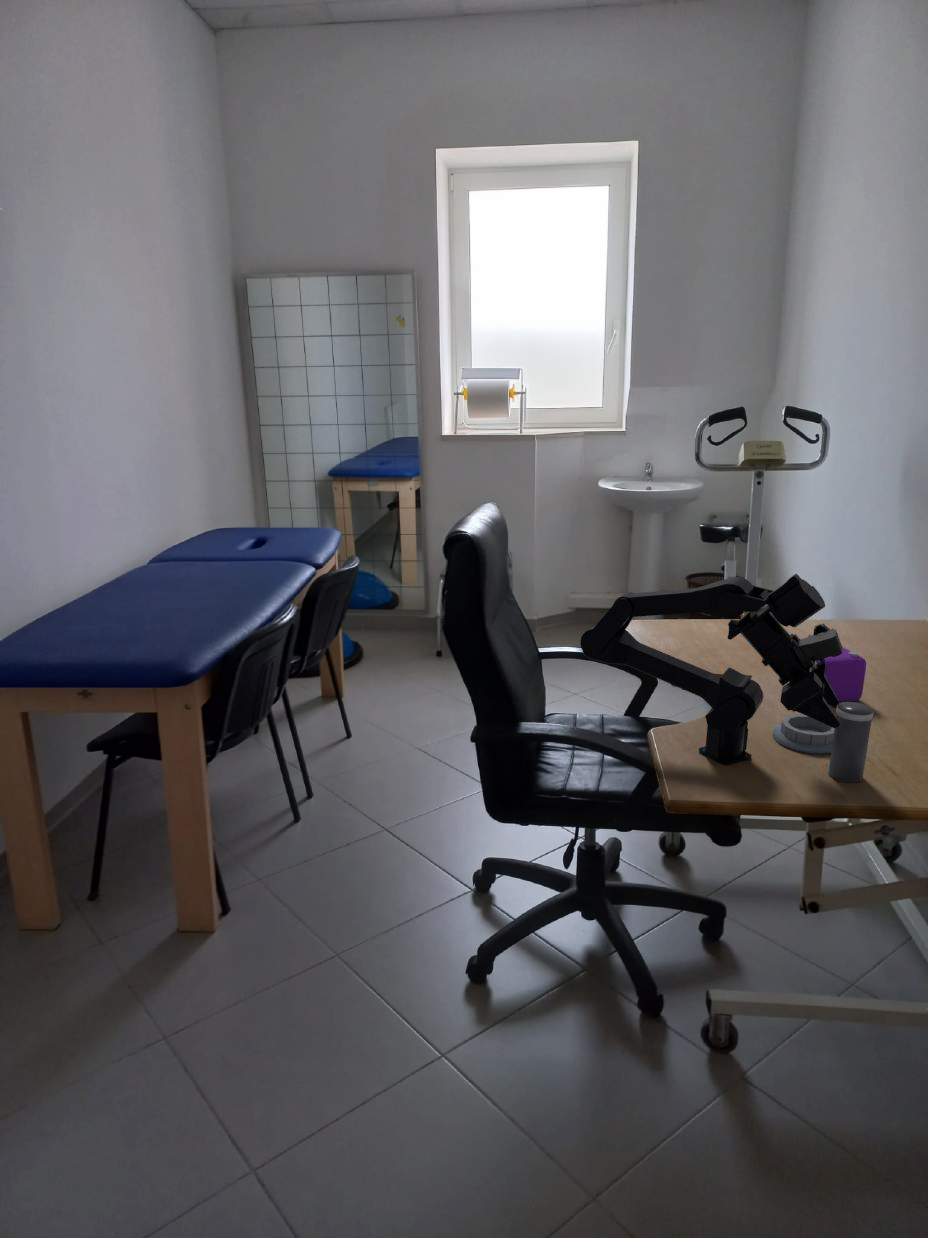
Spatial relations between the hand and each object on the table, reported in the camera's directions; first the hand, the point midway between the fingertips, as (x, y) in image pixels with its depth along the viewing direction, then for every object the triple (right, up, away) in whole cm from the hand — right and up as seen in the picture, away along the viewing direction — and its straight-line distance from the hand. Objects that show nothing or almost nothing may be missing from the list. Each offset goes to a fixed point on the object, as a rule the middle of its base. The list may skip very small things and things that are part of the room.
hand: (837, 716), depth 138 cm
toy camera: (+13, 0, +37) cm, 39 cm away
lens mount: (+2, -6, +16) cm, 17 cm away
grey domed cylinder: (+2, -10, +2) cm, 11 cm away
